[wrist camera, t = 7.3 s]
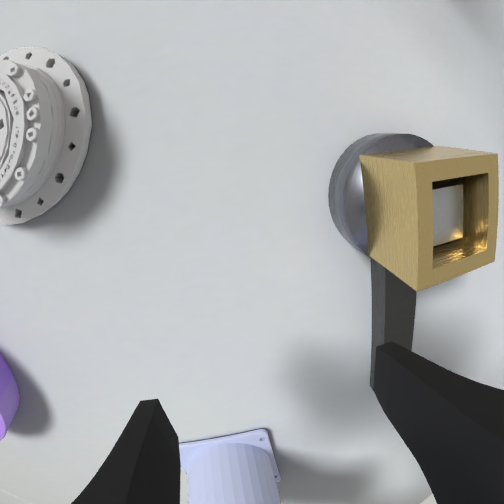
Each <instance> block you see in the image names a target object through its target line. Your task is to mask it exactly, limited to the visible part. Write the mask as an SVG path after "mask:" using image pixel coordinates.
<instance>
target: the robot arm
mask: <svg viewBox="0 0 504 504" xmlns="http://www.w3.org/2000/svg"><path fill="white" fill-rule="evenodd" d="M373 390H374V392H375V395H376V397H377V399H378V401H379V403H380V405H381V407H382V409H383V411H384V413H385V414H386V416H387V417H388V419H389V420H390V422H391V423H392V425H393V426H394V428H395V429H396V430H397V432H398V433H399V435H400V436H401V438H402V439H403V441H404V442H405V444H406V445H407V447H408V448H409V449H410V451H411V452H412V454H413V455H414V457H415V459H416V460H417V462H418V464H419V465H420V467H421V469H422V471H423V473H424V475H425V477H426V479H427V482H428V484H429V486H430V488H431V490H432V493H433V494H434V497H435V499H436V502H437V504H504V390H501V389H497V388H494V387H491V386H487V385H484V384H481V383H478V382H475V381H473V380H470V379H468V378H465V377H463V376H460V375H458V374H456V373H453V372H451V371H449V370H447V369H445V368H443V367H441V366H439V365H437V364H435V363H433V362H431V361H429V360H427V359H425V358H423V357H421V356H419V355H417V354H415V353H414V352H412V351H410V350H408V349H406V348H404V347H402V346H400V345H398V344H397V343H394V342H392V341H391V342H388V343H385V344H382V345H380V346H377V347H376V357H375V371H374V383H373ZM180 466H181V467H182V469H183V470H184V471H185V473H186V474H187V486H188V504H281V500H280V496H279V492H278V489H277V485H276V483H279V482H280V481H281V478H280V474H279V471H278V468H277V464H276V461H275V457H274V454H273V451H272V447H271V444H270V440H269V437H268V433H267V431H266V430H265V429H258V430H254V431H249V432H245V433H240V434H235V435H230V436H225V437H219V438H213V439H208V440H201V441H195V442H188V443H180V444H179V441H178V436H177V434H176V432H175V430H174V429H173V427H172V425H171V423H170V421H169V419H168V417H167V416H166V414H165V412H164V410H163V408H162V406H161V404H160V402H159V400H158V399H153V400H145V401H140V403H139V404H138V406H137V408H136V409H135V411H134V413H133V415H132V416H131V418H130V420H129V422H128V423H127V425H126V427H125V429H124V430H123V432H122V434H121V436H120V437H119V439H118V441H117V442H116V444H115V446H114V447H113V449H112V451H111V452H110V454H109V455H108V457H107V458H106V460H105V461H104V463H103V464H102V466H101V467H100V469H99V470H98V472H97V473H96V475H95V476H94V477H93V479H92V480H91V481H90V483H89V484H88V485H87V486H86V488H85V489H84V490H83V491H82V492H81V494H80V495H79V496H78V497H77V498H76V499H75V500H74V501H73V502H72V503H71V504H180Z"/></svg>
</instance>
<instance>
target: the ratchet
mask: <svg viewBox="0 0 504 504" xmlns="http://www.w3.org/2000/svg"><path fill="white" fill-rule="evenodd" d="M424 147H434V146H433V145H432V144H431V143H429V142H428V141H427V140H425V139H423V138H421V137H418V136H415V135H411V134H372V135H368V136H365V137H363V138H361V139H359V140H357V141H356V142H354V143H353V144H351V145H350V146H349V147H348V148H347V149H346V150H345V151H344V153H343V154H342V155H341V156H340V158H339V160H338V161H337V163H336V165H335V167H334V170H333V172H332V176H331V179H330V185H329V196H328V197H329V207H330V212H331V216H332V219H333V221H334V223H335V225H336V227H337V229H338V231H339V232H340V234H341V235H342V236H343V237H344V238H345V239H346V240H347V241H348V242H349V243H351V244H352V245H353V246H355V247H356V248H358V249H359V250H360V251H362V252H363V253H364V254H366V255H367V256H369V253H368V237H367V223H366V211H365V200H364V190H363V181H362V172H361V164H360V157H359V155H364V154H372V153H380V152H388V151H396V150H405V149H414V148H424ZM432 191H433V246H436V245H439V244H443V243H446V242H449V241H452V240H456V239H459V238H462V237H463V184H461V183H457V182H453V181H449V180H440V181H434V182H432ZM369 257H370V256H369ZM370 258H371V279H372V351H371V375H370V386H371V388H372V389H373V383H374V371H375V357H376V347H377V346H380V345H382V344H385V343H388V342H391V341H392V342H394V343H397V344H398V345H400V346H402V347H404V348H406V349H408V350H410V351H411V348H412V339H413V329H414V318H415V305H416V291H415V290H414V289H413V288H412V287H410V286H409V285H408V284H406V283H405V282H404V281H402V280H401V279H400V278H398V277H397V276H396V275H394V274H393V273H392V272H390V271H389V270H388V269H386V268H385V267H384V266H382V265H381V264H380V263H378V262H377V261H376V260H374V259H373V258H372V257H370ZM373 391H374V390H373Z"/></svg>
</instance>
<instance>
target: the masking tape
mask: <svg viewBox="0 0 504 504" xmlns="http://www.w3.org/2000/svg"><path fill="white" fill-rule="evenodd" d="M19 403H20V394H19V389H18V386H17V383H16V380H15V378H14V375H13V373H12V371H11V369H10V368H9V366H8V364H7V362H6V361H5V359H4V358H3V356H2V355H1V353H0V440H1V439H3V438H4V437H5V435H6V432H7V430H8V428H9V426H10V423H11V421H12V419H13V417H14V415H15V413H16V411H17V409H18V407H19Z"/></svg>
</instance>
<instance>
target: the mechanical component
mask: <svg viewBox="0 0 504 504" xmlns="http://www.w3.org/2000/svg"><path fill="white" fill-rule="evenodd" d="M79 110H80V111H79ZM78 111H79V113H78ZM77 113H78V116H77ZM91 128H92V118H91V110H90V101H89V94H88V92H87V89H86V86H85V83H84V81H83V79H82V78H81V76H80V75H79V73H78V72H77V70H76V69H75V67H74V66H73V65H72V64H71V63H69V62H68V61H66V60H65V59H64V58H62V57H61V56H59V55H58V54H56V53H54V52H52V51H50V50H48V49H46V48H42V47H34V46H29V47H21V48H16V49H14V50H11V51H8V52H6V53H3V54H2V55H0V224H7V225H12V224H19V223H24V222H26V221H28V220H30V219H33V218H35V217H37V216H39V215H42V214H44V213H45V212H46V211H47V210H49V209H50V208H51V207H53V206H54V205H55V204H57V203H58V202H59V201H60V200H61V199H62V198H63V197H64V195H65V194H66V193H67V192H68V191H69V190H70V188H71V187H72V185H73V183H74V181H75V180H76V178H77V176H78V175H79V173H80V171H81V168H82V165H83V162H84V160H85V157H86V155H87V151H88V145H89V139H90V133H91ZM63 176H64V178H63Z"/></svg>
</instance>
